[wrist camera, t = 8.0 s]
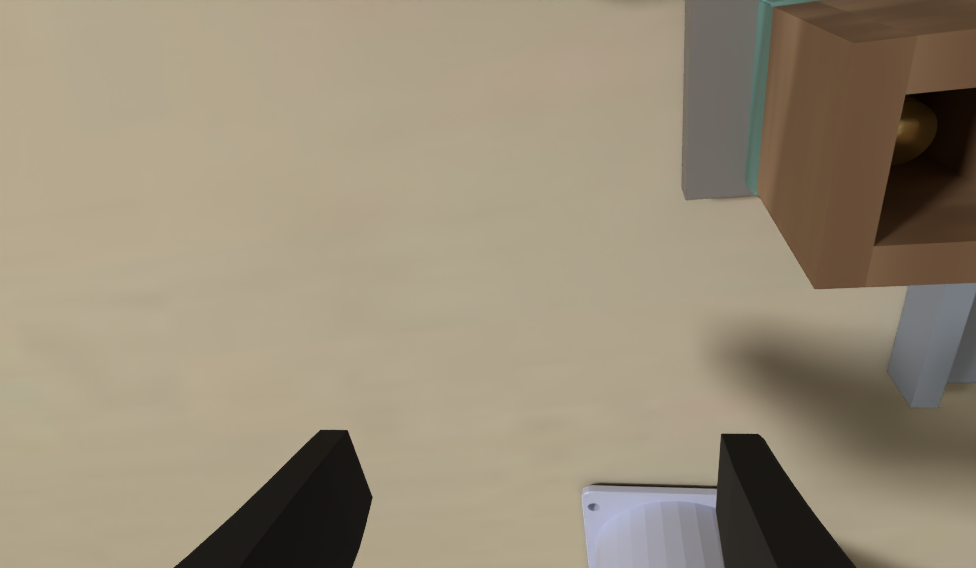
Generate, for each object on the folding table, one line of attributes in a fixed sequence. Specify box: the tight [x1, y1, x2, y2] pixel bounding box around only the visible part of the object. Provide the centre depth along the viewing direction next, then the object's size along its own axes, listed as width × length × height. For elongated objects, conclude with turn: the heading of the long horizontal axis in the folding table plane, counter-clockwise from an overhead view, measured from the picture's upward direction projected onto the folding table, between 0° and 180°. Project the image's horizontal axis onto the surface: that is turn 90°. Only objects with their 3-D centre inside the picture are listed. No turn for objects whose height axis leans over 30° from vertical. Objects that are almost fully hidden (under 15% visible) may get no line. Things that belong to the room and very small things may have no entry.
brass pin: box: [891, 95, 937, 165], centre depth 14 cm, size 1×1×3 cm
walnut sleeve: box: [745, 0, 976, 289], centre depth 12 cm, size 5×5×6 cm
